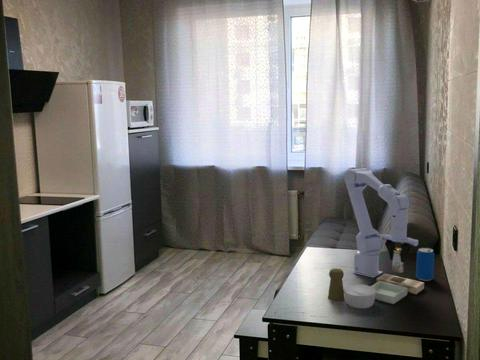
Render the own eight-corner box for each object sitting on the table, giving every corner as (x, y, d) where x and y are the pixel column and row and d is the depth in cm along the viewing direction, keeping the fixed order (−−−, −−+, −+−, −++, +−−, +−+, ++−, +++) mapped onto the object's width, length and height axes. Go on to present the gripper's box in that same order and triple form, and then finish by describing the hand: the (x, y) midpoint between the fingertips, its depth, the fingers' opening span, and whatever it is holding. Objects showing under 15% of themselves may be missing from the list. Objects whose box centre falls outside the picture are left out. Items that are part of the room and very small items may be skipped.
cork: (334, 302, 185) (334, 273, 183) (324, 297, 190) (324, 268, 188) (348, 299, 187) (348, 270, 185) (337, 293, 193) (337, 265, 191)
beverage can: (434, 282, 202) (435, 252, 200) (417, 281, 203) (418, 252, 201) (431, 276, 208) (433, 247, 206) (415, 275, 210) (416, 247, 208)
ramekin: (341, 307, 180) (341, 293, 179) (346, 296, 191) (346, 282, 190) (373, 312, 176) (374, 297, 175) (377, 299, 186) (378, 286, 186)
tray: (365, 296, 189) (365, 289, 189) (379, 287, 198) (379, 281, 197) (393, 304, 182) (393, 297, 182) (407, 294, 190) (407, 287, 190)
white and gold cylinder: (390, 271, 198) (391, 249, 196) (395, 268, 201) (395, 247, 199) (400, 273, 195) (401, 251, 194) (404, 270, 198) (405, 249, 197)
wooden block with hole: (376, 284, 201) (376, 278, 201) (384, 279, 206) (384, 273, 206) (416, 294, 190) (416, 287, 190) (423, 288, 196) (424, 282, 195)
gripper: (376, 225, 197) (375, 259, 199) (413, 231, 187) (411, 267, 190) (384, 221, 202) (384, 255, 204) (420, 227, 193) (419, 262, 195)
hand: (398, 260), depth 197 cm, fingers closed on white and gold cylinder, 4 cm apart
